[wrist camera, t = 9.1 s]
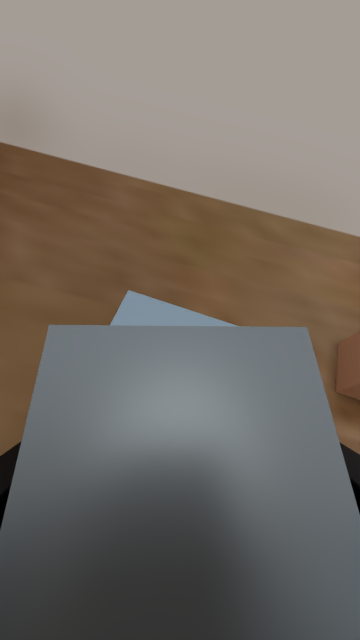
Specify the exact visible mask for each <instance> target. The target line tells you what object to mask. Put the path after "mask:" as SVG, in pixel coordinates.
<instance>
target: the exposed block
mask: <svg viewBox="0 0 360 640" xmlns="http://www.w3.org/2000/svg"><path fill="white" fill-rule="evenodd" d="M336 392H337V393H340V394H343V395H346V396H349V397H351V398H354V399H357V400H360V331H359V332H357V333H355V334H354V335H352V336H351V337H349V338H347V339H346V340H344V341H343V342H341V343H339V344H338V359H337V376H336Z"/></svg>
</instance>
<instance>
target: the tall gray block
mask: <svg viewBox="0 0 360 640" xmlns="http://www.w3.org/2000/svg"><path fill="white" fill-rule="evenodd" d="M0 640H360V514H359V510H358V507H357V503H356V500H355V496H354V492H353V489H352V485H351V482H350V478H349V475H348V471H347V468H346V464H345V460H344V457H343V453H342V450H341V446H340V443H339V439H338V435H337V432H336V428H335V425H334V421H333V418H332V414H331V411H330V407H329V403H328V400H327V396H326V393H325V389H324V386H323V382H322V378H321V375H320V371H319V368H318V364H317V361H316V357H315V354H314V350H313V346H312V343H311V339H310V336H309V332H308V329H307V327H239V326H121V325H49V328H48V332H47V337H46V341H45V345H44V349H43V353H42V358H41V362H40V366H39V370H38V374H37V379H36V383H35V387H34V391H33V395H32V399H31V404H30V408H29V412H28V416H27V420H26V425H25V429H24V433H23V437H22V441H21V446H20V450H19V454H18V458H17V462H16V467H15V471H14V475H13V479H12V483H11V488H10V492H9V496H8V500H7V504H6V509H5V513H4V517H3V521H2V525H1V530H0Z"/></svg>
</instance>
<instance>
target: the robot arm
mask: <svg viewBox="0 0 360 640" xmlns="http://www.w3.org/2000/svg"><path fill="white" fill-rule="evenodd" d="M339 443H340V442H339ZM20 446H21V442H20V443H18V444H17V445H15V446H14V447H13V448H11V449H10V450H8V451H7V452H5V453H4V454H3V455H1V456H0V530H1V525H2V521H3V517H4V513H5V509H6V504H7V500H8V496H9V492H10V488H11V483H12V479H13V475H14V471H15V467H16V462H17V458H18V454H19V450H20ZM340 446H341V450H342V453H343V457H344V460H345V464H346V468H347V471H348V475H349V478H350V482H351V485H352V489H353V492H354V496H355V500H356V503H357V507H358V510H359V514H360V455H359V454H358V453H356V452H354V451H353V450H351V449H350V448H348V447H346V446H345V445H343V444H341V443H340Z"/></svg>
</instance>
